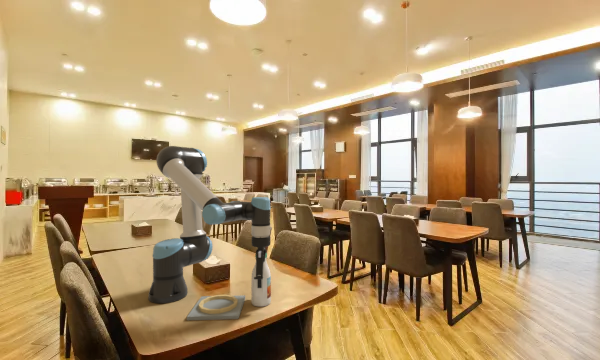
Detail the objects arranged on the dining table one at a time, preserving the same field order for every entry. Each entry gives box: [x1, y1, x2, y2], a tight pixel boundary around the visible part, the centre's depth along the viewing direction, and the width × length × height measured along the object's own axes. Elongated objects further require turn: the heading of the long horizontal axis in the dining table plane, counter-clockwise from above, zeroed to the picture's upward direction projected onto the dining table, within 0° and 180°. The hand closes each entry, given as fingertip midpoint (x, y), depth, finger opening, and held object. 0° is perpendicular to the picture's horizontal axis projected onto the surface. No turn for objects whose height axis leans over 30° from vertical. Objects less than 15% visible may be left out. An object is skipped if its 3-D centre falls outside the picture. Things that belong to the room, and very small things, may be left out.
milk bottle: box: [250, 252, 272, 307], centre depth 117 cm, size 8×8×20 cm
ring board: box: [186, 294, 246, 321], centre depth 112 cm, size 18×18×2 cm
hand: (261, 289), depth 117 cm, fingers open, 12 cm apart
